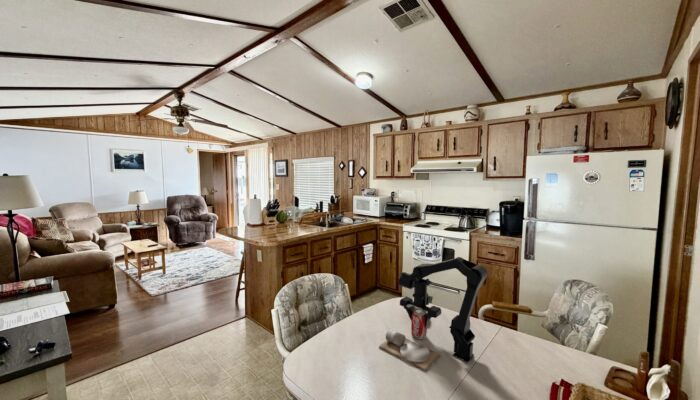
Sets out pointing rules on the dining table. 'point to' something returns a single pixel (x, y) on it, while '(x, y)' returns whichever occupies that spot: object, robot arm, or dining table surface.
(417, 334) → the soda can
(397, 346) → the duct board
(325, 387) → the dining table surface
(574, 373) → the dining table surface
